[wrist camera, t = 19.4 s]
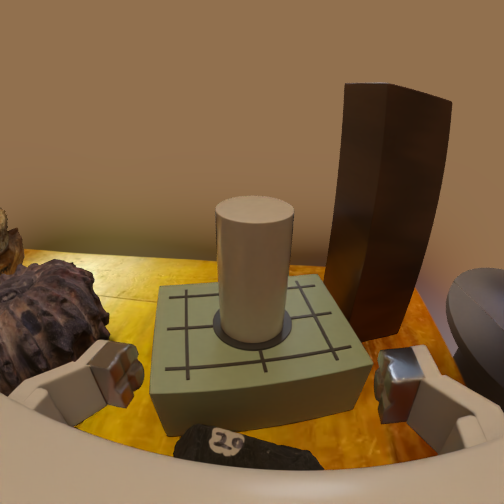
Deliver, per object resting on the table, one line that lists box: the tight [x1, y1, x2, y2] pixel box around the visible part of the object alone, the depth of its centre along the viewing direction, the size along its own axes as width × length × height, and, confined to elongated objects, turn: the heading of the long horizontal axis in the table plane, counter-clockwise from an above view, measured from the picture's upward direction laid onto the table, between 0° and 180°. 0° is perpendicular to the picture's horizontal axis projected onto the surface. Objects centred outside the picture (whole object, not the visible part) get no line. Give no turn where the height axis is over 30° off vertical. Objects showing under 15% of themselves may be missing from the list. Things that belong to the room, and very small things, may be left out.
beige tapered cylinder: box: [215, 196, 294, 343], centre depth 21 cm, size 5×5×9 cm
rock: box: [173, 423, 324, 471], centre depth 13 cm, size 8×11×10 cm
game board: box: [149, 274, 373, 436], centre depth 24 cm, size 15×12×6 cm
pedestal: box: [323, 83, 452, 342], centre depth 27 cm, size 7×7×24 cm
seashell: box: [0, 259, 110, 397], centre depth 22 cm, size 20×13×15 cm
